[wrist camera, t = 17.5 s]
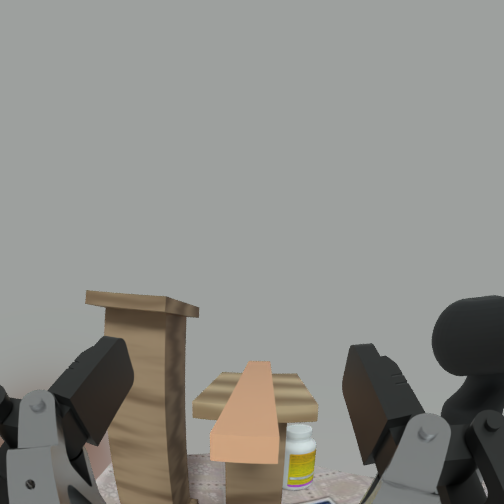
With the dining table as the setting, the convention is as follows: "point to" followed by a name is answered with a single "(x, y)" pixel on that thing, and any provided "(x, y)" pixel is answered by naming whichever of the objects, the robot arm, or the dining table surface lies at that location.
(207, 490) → the dining table surface
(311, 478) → the supplement bottle
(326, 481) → the dining table surface
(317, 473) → the dining table surface
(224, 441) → the slat
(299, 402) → the pedestals
